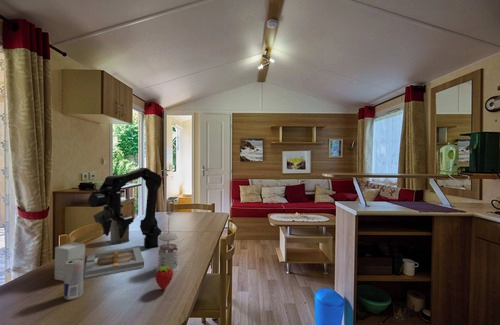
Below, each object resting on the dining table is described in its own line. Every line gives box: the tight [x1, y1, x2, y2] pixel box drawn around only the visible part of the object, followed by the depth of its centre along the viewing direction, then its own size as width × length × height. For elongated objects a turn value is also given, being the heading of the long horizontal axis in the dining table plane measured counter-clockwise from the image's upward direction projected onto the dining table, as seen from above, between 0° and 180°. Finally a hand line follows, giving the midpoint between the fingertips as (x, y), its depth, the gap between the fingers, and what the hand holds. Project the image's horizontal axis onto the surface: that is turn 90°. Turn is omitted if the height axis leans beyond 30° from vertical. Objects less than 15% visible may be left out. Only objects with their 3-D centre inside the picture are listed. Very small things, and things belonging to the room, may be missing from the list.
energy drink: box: [63, 258, 84, 301], centre depth 86 cm, size 5×5×12 cm
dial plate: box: [83, 246, 145, 279], centre depth 114 cm, size 22×22×3 cm
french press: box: [155, 210, 180, 273], centre depth 110 cm, size 10×12×25 cm
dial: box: [97, 249, 132, 266], centre depth 114 cm, size 14×14×5 cm
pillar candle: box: [109, 216, 130, 245], centre depth 145 cm, size 10×10×15 cm
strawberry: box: [154, 265, 174, 291], centre depth 91 cm, size 6×8×10 cm
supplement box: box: [54, 241, 86, 282], centre depth 100 cm, size 7×7×13 cm
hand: (114, 236), depth 115 cm, fingers open, 9 cm apart
